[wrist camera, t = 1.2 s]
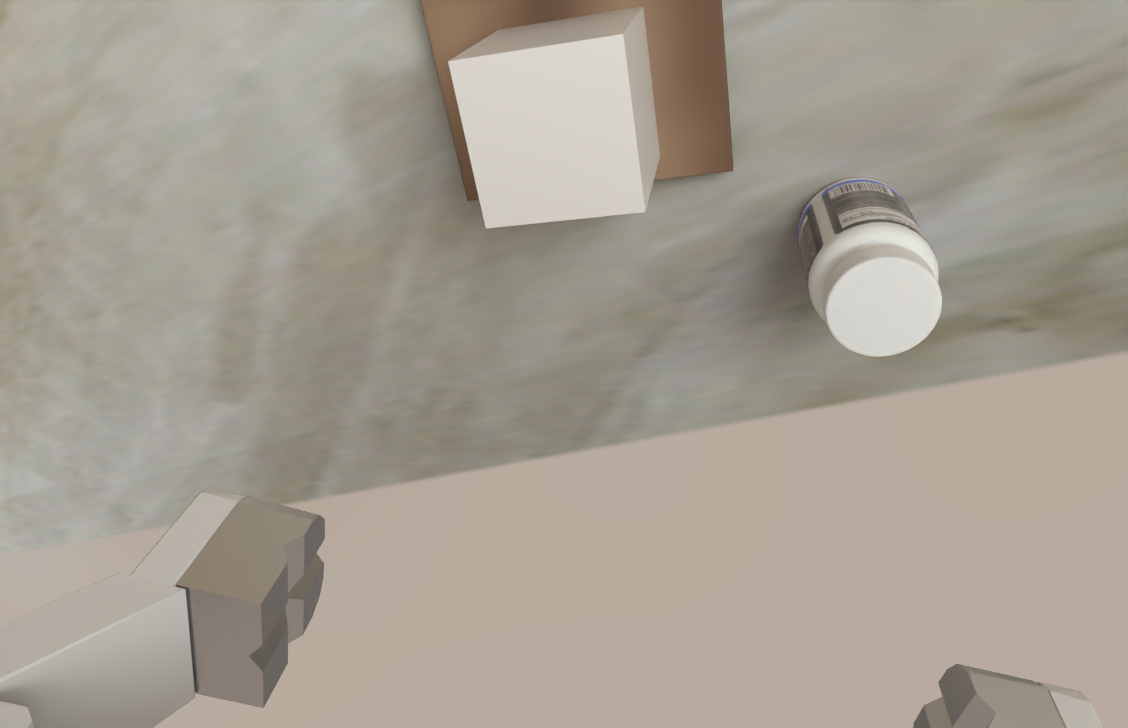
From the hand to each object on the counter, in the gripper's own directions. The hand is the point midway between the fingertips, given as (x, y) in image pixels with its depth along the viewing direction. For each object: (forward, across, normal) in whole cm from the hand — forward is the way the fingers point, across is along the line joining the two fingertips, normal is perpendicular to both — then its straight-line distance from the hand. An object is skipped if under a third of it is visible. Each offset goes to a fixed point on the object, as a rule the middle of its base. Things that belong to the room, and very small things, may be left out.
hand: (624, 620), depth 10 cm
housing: (+28, +4, 0) cm, 28 cm away
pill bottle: (+29, -9, +3) cm, 30 cm away
